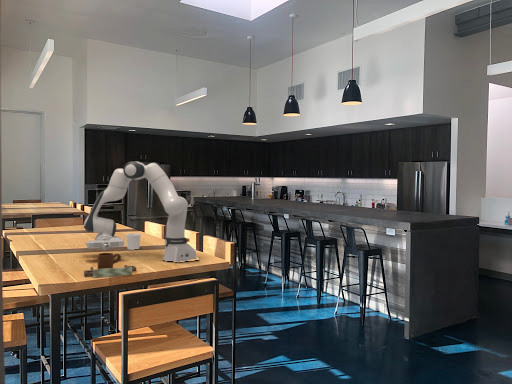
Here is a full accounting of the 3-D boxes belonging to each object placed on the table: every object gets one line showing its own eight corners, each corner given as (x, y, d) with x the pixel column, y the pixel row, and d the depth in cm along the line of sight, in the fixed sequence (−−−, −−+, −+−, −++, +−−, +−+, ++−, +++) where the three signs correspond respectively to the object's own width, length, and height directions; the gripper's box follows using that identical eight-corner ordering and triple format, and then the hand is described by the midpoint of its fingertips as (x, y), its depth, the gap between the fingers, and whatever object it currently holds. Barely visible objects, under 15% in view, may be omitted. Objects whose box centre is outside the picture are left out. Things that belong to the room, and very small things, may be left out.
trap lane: (133, 267, 226) (133, 260, 226) (139, 274, 211) (139, 267, 210) (83, 270, 214) (83, 263, 214) (85, 278, 199) (85, 270, 199)
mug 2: (142, 248, 287) (142, 233, 286) (137, 250, 278) (137, 235, 277) (126, 247, 288) (127, 233, 287) (121, 249, 279) (121, 234, 278)
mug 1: (117, 268, 223) (117, 251, 222) (123, 271, 217) (123, 253, 217) (95, 271, 214) (95, 253, 214) (100, 274, 209) (101, 255, 208)
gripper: (85, 237, 240) (87, 241, 228) (121, 236, 249) (125, 239, 237) (85, 248, 240) (87, 252, 228) (121, 246, 249) (125, 250, 237)
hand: (107, 245), depth 232 cm, fingers closed
